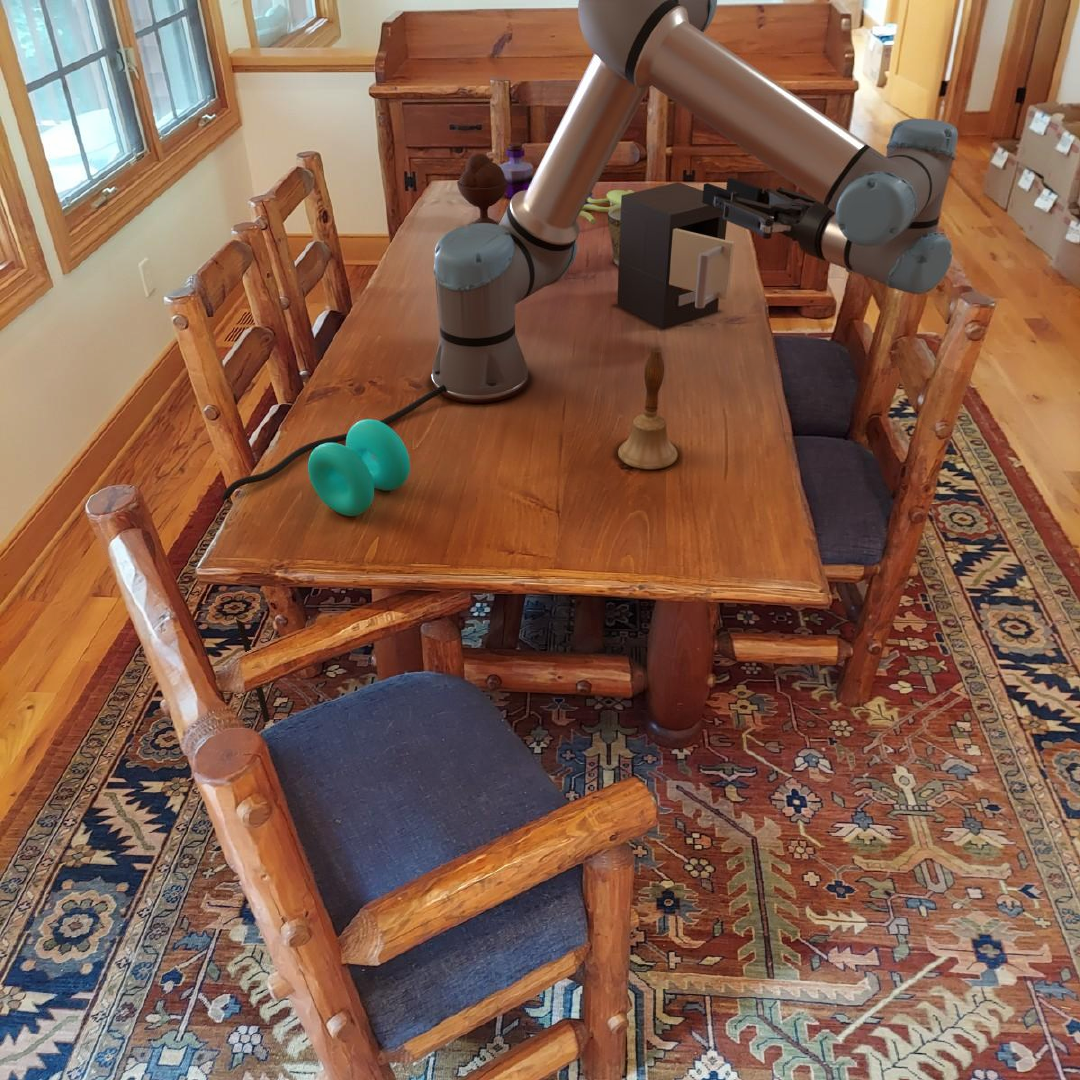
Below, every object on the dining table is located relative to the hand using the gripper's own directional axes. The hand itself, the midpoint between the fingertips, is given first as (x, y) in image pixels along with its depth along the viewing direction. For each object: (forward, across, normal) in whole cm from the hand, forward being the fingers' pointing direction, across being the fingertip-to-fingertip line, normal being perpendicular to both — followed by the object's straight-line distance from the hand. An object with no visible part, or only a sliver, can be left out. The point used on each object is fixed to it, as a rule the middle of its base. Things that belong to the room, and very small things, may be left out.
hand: (716, 190), depth 142 cm
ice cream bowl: (+78, +7, -28) cm, 83 cm away
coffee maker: (+19, +9, -27) cm, 34 cm away
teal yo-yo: (-6, -64, -28) cm, 70 cm away
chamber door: (+6, +2, -19) cm, 20 cm away
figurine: (+63, +32, -28) cm, 76 cm away
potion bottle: (+92, +24, -28) cm, 99 cm away
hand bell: (-19, -27, -27) cm, 43 cm away
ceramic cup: (+42, +20, -28) cm, 54 cm away
